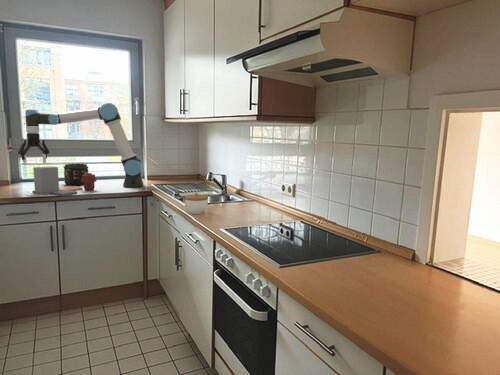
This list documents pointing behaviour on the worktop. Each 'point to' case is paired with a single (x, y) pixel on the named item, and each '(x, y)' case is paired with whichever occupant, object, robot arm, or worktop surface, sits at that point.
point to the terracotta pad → (70, 188)
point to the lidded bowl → (196, 203)
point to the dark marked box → (74, 174)
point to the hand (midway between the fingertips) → (35, 164)
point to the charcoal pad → (64, 193)
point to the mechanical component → (88, 181)
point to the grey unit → (46, 180)
